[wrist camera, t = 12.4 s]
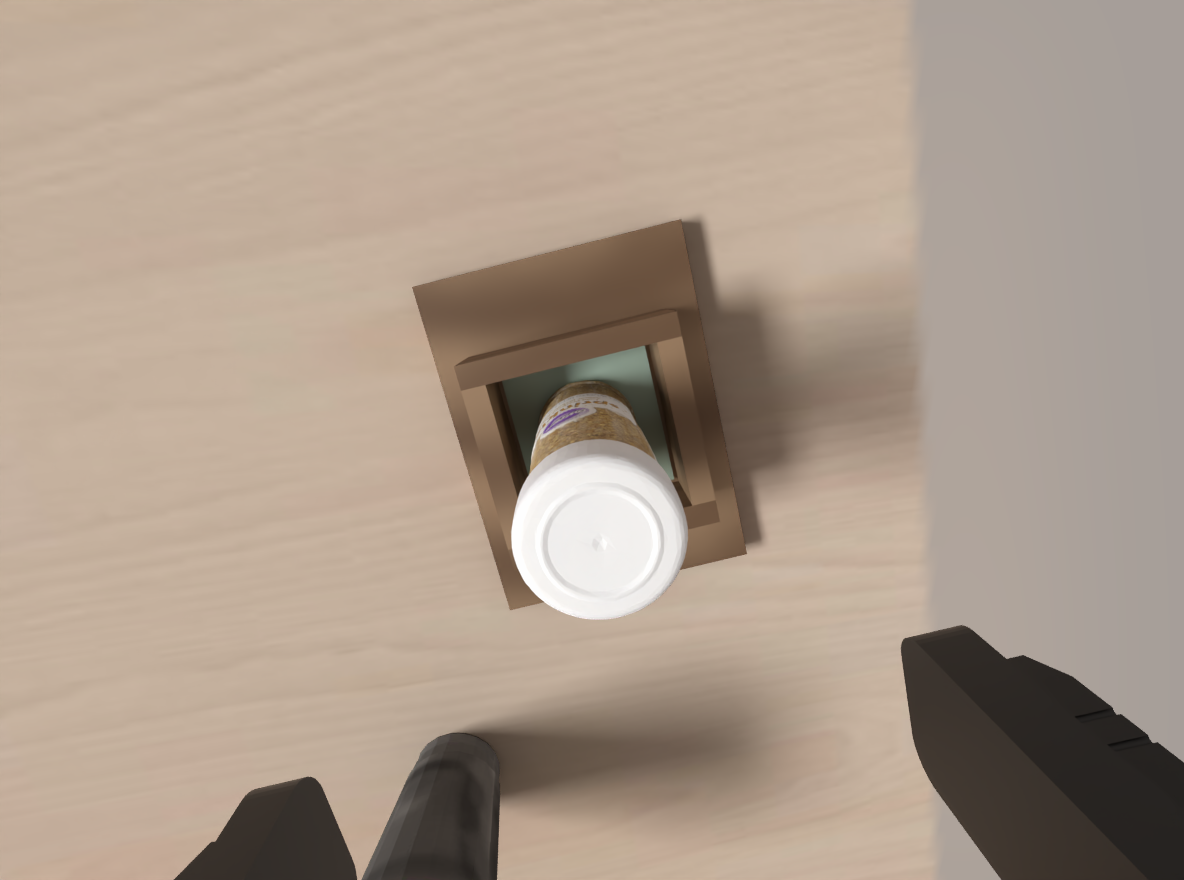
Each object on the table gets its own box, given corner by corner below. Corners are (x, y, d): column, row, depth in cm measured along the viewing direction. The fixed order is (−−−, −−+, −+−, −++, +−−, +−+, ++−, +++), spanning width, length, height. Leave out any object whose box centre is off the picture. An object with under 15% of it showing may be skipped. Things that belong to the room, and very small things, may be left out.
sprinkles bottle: (589, 358, 28) (606, 417, 15) (656, 430, 29) (729, 546, 16) (516, 426, 28) (470, 541, 15) (584, 495, 29) (595, 659, 16)
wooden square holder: (417, 287, 28) (389, 286, 24) (677, 221, 28) (696, 208, 23) (512, 600, 32) (502, 649, 27) (741, 545, 32) (768, 586, 27)
